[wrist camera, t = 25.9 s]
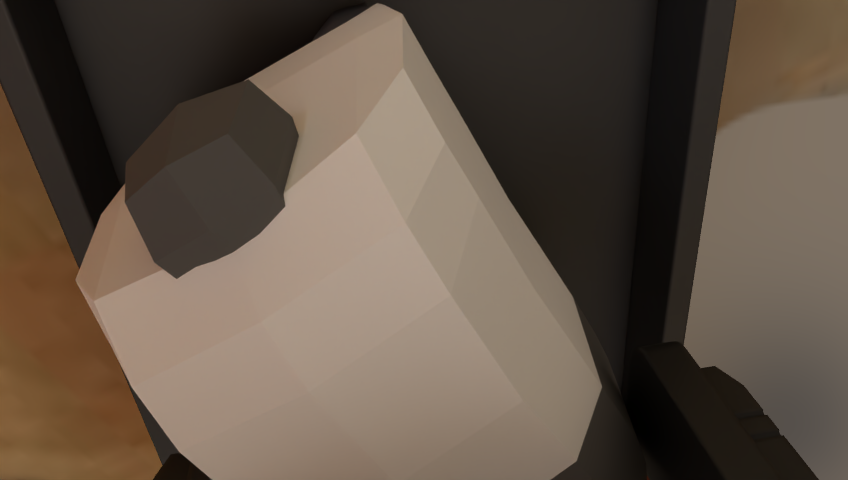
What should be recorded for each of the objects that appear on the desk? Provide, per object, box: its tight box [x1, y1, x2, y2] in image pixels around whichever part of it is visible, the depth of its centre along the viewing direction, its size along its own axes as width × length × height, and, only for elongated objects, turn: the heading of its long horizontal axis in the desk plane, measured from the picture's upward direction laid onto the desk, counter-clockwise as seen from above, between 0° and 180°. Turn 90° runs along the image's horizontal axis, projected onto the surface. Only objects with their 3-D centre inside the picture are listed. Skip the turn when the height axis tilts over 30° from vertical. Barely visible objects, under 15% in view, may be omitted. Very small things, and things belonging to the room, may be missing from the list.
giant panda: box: [75, 3, 647, 480], centre depth 12 cm, size 15×6×10 cm, turn 31°
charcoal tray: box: [0, 0, 736, 465], centre depth 16 cm, size 13×15×3 cm
